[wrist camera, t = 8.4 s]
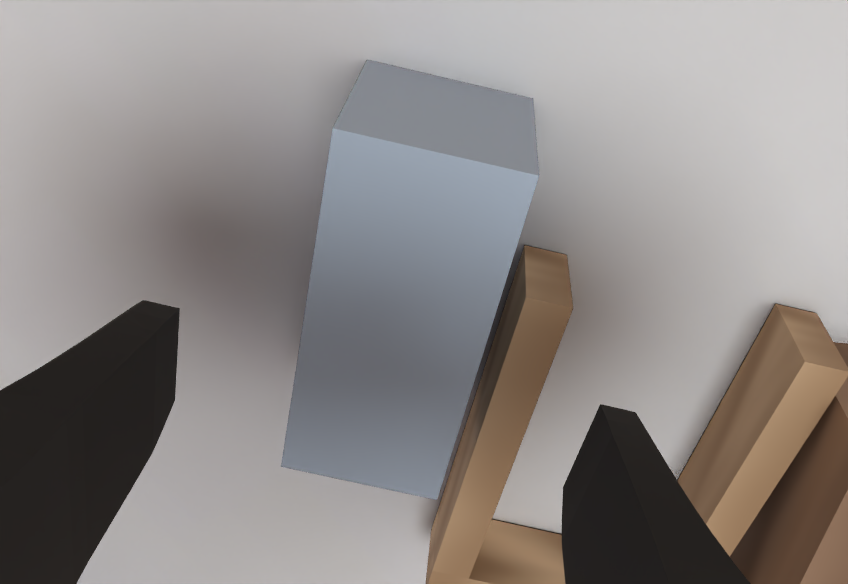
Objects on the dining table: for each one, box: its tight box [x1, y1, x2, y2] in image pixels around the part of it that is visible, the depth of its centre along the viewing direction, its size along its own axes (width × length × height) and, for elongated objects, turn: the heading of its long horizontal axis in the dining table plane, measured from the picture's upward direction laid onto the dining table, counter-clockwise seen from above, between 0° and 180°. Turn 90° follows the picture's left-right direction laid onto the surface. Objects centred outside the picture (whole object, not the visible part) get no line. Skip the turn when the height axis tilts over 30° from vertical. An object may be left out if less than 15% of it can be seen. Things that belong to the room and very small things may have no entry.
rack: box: [426, 245, 848, 584], centre depth 20 cm, size 13×10×3 cm
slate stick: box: [281, 60, 539, 500], centre depth 17 cm, size 4×8×4 cm, turn 168°
